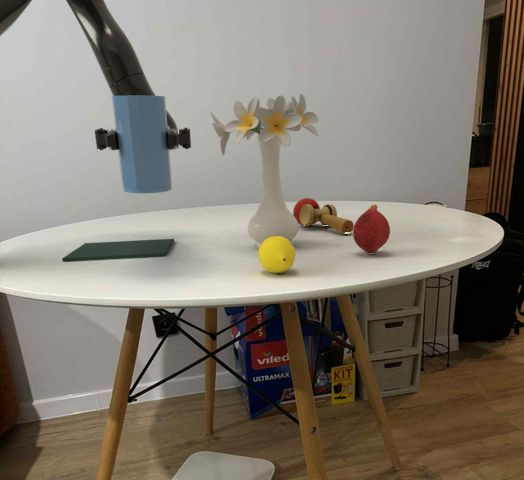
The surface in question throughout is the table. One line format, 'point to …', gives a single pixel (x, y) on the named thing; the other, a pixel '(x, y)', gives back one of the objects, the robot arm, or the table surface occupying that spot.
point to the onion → (371, 230)
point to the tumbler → (142, 143)
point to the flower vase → (269, 157)
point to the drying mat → (120, 250)
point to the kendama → (320, 215)
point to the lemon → (276, 254)
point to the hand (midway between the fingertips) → (142, 141)
